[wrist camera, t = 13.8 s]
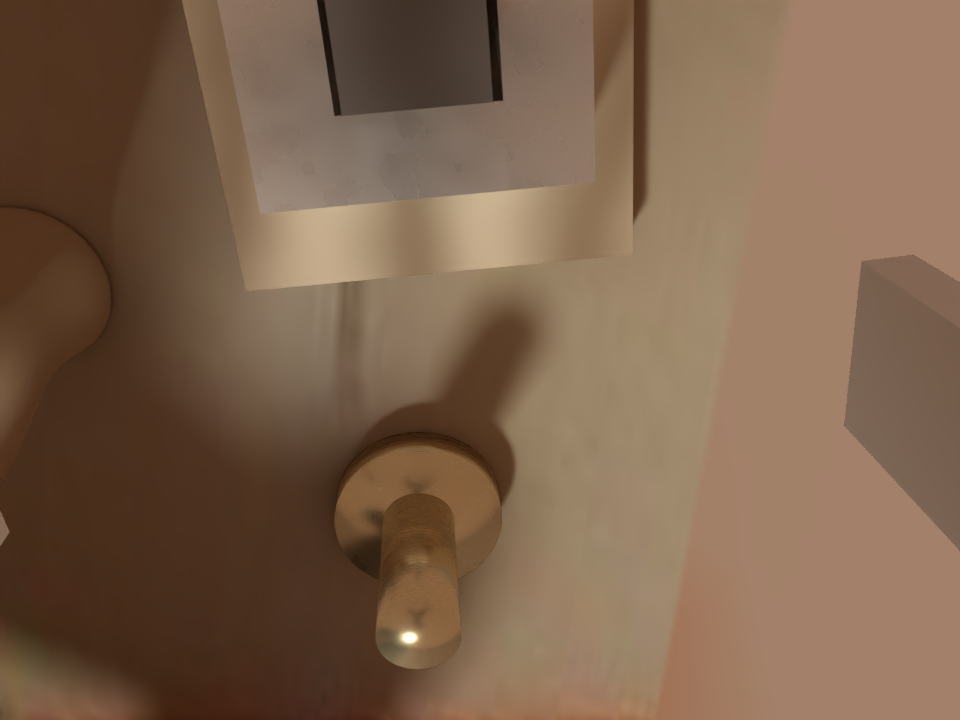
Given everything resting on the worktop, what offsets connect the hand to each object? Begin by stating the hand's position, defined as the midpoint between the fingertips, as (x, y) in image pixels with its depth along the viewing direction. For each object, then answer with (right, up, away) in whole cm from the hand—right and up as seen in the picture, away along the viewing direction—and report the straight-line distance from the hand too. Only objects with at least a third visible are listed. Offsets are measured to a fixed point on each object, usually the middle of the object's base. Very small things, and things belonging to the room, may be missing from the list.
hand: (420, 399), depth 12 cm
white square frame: (-1, +12, +14) cm, 18 cm away
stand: (-2, -6, +24) cm, 25 cm away
